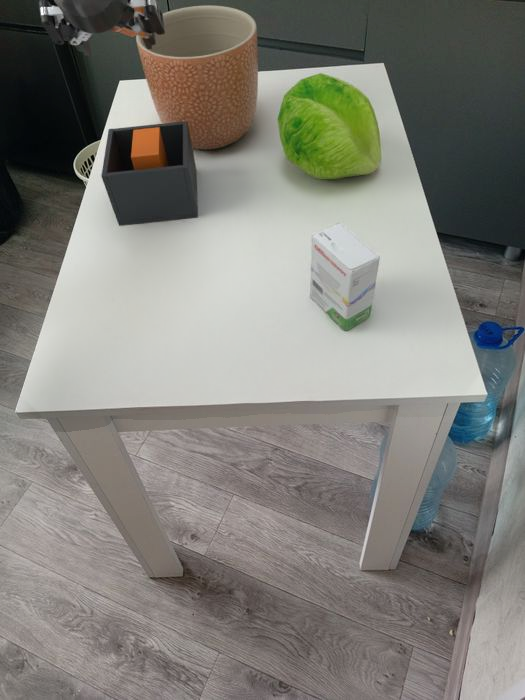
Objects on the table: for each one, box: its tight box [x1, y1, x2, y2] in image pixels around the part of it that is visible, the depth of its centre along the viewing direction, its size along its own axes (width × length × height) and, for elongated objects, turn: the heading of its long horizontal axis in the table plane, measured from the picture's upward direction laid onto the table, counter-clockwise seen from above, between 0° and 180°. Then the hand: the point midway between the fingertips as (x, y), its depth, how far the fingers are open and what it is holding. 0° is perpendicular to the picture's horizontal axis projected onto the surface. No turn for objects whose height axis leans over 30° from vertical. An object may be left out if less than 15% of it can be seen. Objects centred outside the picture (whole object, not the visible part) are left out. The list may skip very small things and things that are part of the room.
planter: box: [135, 5, 259, 150], centre depth 95 cm, size 21×21×19 cm
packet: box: [131, 127, 169, 170], centre depth 87 cm, size 4×8×10 cm, turn 6°
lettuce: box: [277, 72, 382, 180], centre depth 88 cm, size 17×20×16 cm
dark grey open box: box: [100, 121, 199, 226], centre depth 88 cm, size 14×14×10 cm
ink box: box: [309, 222, 381, 332], centre depth 69 cm, size 8×5×12 cm, turn 33°
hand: (118, 44), depth 71 cm, fingers open, 8 cm apart
